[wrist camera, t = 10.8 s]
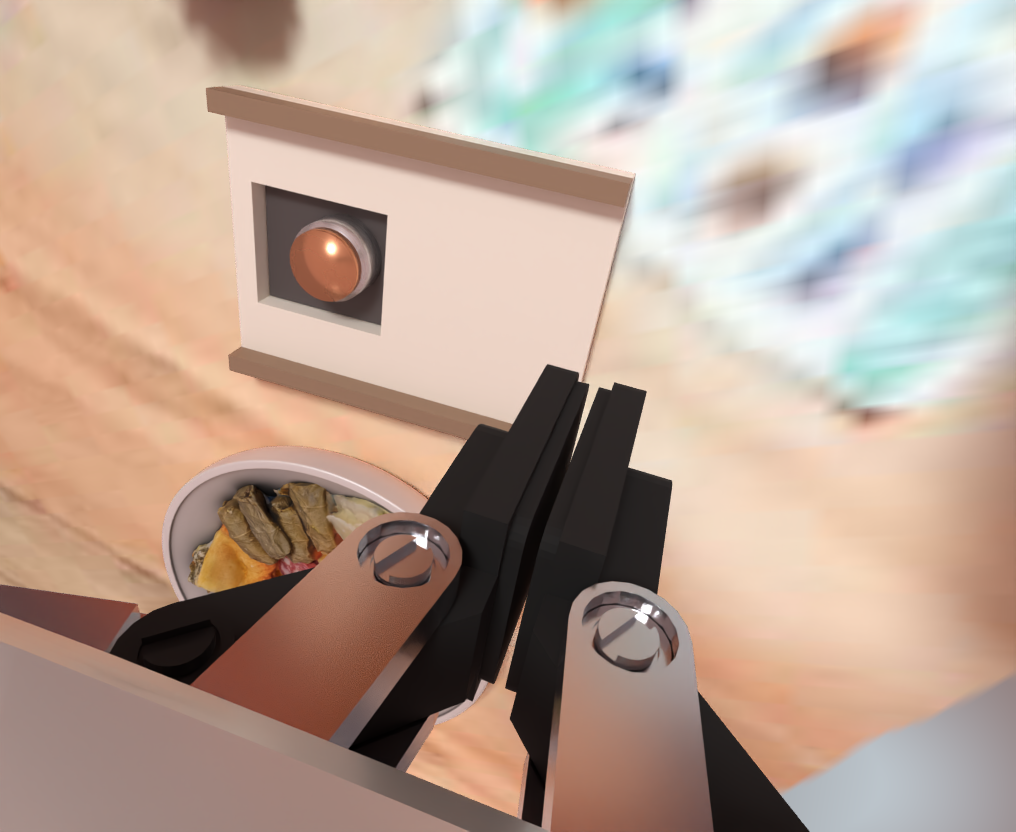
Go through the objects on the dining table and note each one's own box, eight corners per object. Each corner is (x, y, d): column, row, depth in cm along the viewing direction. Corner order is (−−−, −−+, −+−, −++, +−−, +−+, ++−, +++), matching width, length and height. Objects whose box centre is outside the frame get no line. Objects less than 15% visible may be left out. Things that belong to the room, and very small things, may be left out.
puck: (386, 228, 40) (364, 241, 37) (376, 300, 43) (355, 317, 40) (313, 202, 40) (287, 213, 38) (308, 276, 43) (283, 290, 41)
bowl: (186, 380, 51) (109, 430, 45) (544, 495, 48) (518, 568, 41) (210, 624, 67) (157, 686, 61) (479, 723, 64) (453, 802, 57)
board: (635, 173, 35) (629, 183, 32) (566, 442, 44) (558, 465, 42) (238, 84, 38) (205, 87, 36) (254, 353, 48) (229, 370, 45)
